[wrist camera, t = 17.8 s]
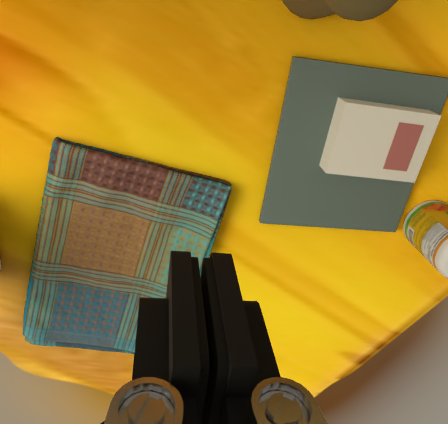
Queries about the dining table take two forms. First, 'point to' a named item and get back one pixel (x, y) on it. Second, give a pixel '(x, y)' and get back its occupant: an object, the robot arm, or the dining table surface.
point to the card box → (378, 140)
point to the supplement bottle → (429, 232)
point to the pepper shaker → (339, 8)
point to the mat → (315, 141)
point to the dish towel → (112, 243)
